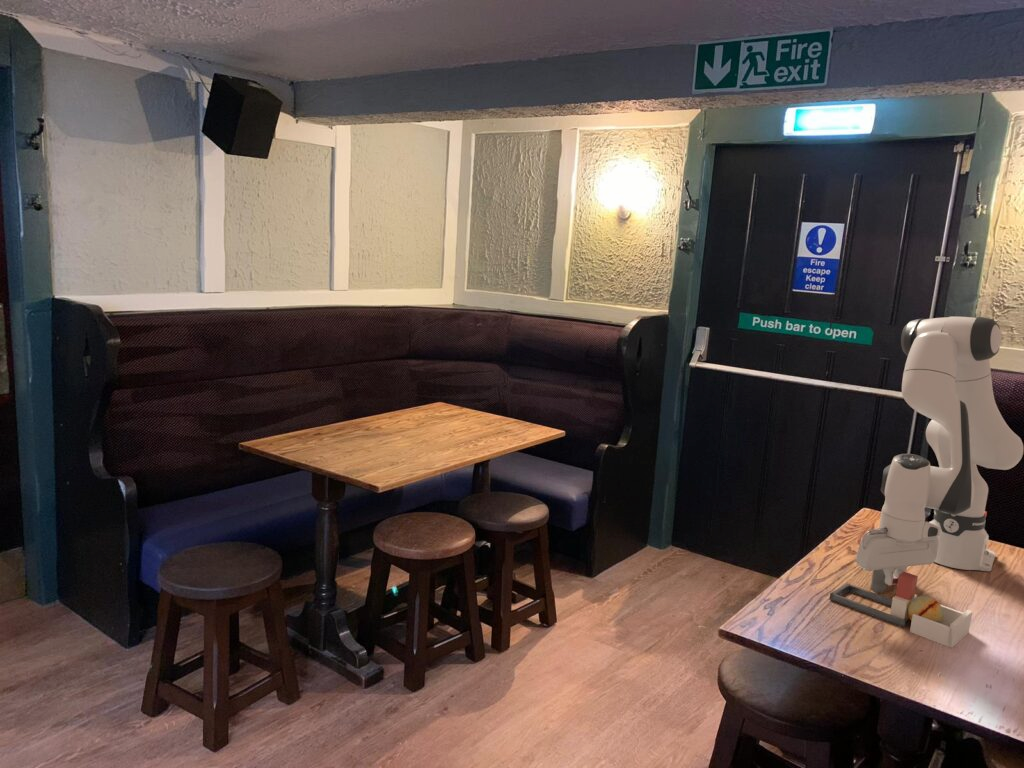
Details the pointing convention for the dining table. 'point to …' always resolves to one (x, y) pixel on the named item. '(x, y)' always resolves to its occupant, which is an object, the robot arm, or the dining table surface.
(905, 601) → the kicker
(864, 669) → the dining table surface
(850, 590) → the dark grey rectangular frame
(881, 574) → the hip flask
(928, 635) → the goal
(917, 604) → the ball
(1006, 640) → the dining table surface
